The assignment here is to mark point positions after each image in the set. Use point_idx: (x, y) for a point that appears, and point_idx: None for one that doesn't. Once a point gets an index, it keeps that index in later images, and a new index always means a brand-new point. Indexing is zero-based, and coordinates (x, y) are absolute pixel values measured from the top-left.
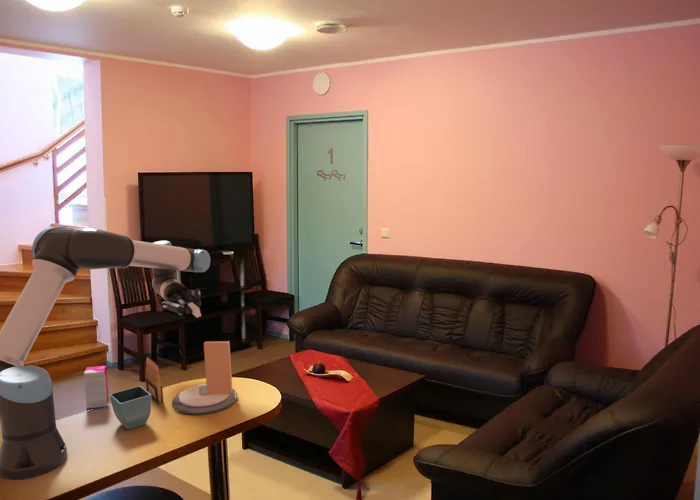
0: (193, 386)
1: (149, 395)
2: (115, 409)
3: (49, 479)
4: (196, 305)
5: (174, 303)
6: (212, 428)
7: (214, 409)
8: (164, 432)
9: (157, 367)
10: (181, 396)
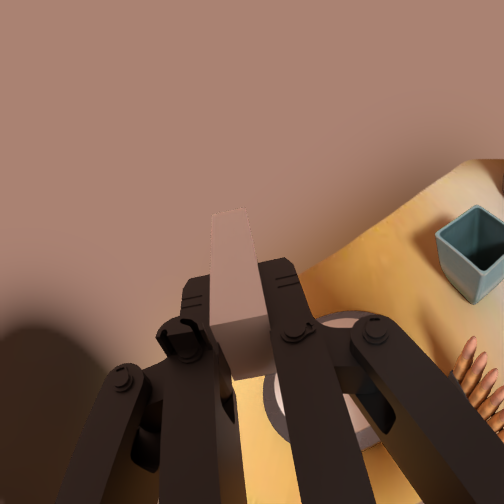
0: (365, 425)
1: (437, 231)
2: (500, 245)
3: (493, 173)
4: (201, 290)
5: (453, 460)
6: (328, 268)
7: (320, 317)
8: (407, 258)
9: (468, 340)
10: None
